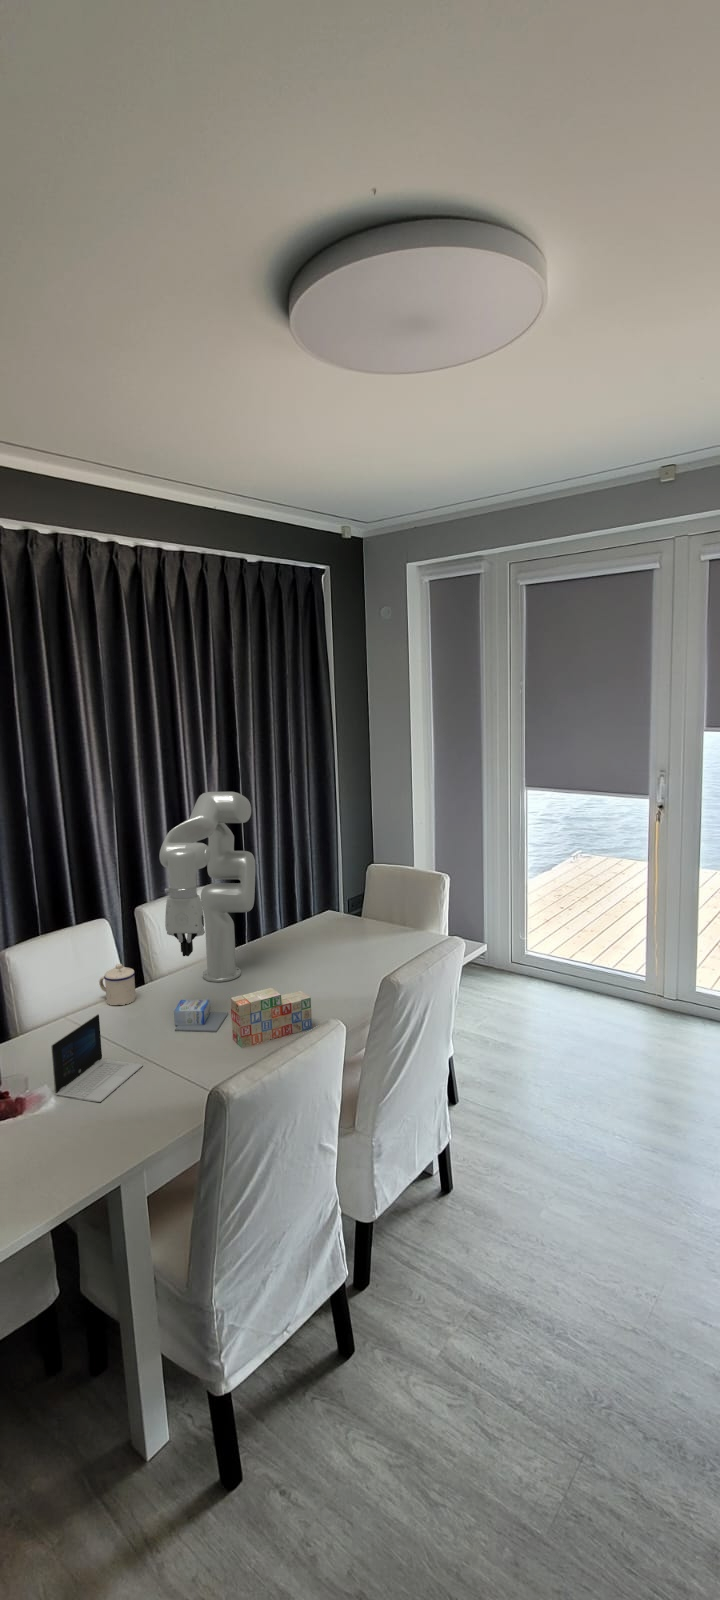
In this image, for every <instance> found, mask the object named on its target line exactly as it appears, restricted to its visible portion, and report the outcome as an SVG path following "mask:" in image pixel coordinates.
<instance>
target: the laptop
mask: <svg viewBox="0 0 720 1600" xmlns="http://www.w3.org/2000/svg"><path fill="white" fill-rule="evenodd" d="M100 1022H101V1021H100V1014H99V1013H97V1014H95V1015H94V1016H92V1017H90V1019H89V1020H87V1021H85V1022H83V1024H80V1025H79V1026H78V1027H76V1028H74V1029H73V1030H71V1031H70V1032H69V1033H68V1034H65V1035H64V1036H63V1037H61V1038H60V1039H59V1040H57V1041H56V1042H54V1043H52V1044H51V1047H50V1048H51V1058H52V1059H51V1060H52V1071H53V1084H54V1094H56V1095H55V1097H57V1096H58V1098H59V1097H60V1098H63V1099H64V1098H65V1099H72V1100H80V1101H89V1102H94V1103H95V1102H96V1103H101V1102H102V1101H103V1100H105V1099H106V1098H107V1097H108V1096H109V1095H110V1094H111V1093H112V1092H114V1091H115V1090H116V1089H118V1087H121V1085H122V1084H123V1083H125V1082H126V1081H127V1080H128V1079H129V1078H130V1077H131V1076H133V1075H134V1074H135V1073H136V1072H137V1071H138V1070H139V1069H141V1067H143V1066H144V1065H143V1063H136V1062H128V1061H121V1060H113V1059H107V1058H103V1054H102V1053H103V1052H102V1051H103V1050H102V1038H101V1025H100V1024H101V1023H100Z"/></svg>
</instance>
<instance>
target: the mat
mask: <svg viewBox="0 0 720 1600" xmlns="http://www.w3.org/2000/svg"><path fill="white" fill-rule="evenodd" d="M228 1015H229V1012H227V1011H222V1012H221V1011H210V1014H209V1016H208V1018H207V1020H206V1022H205V1024H204V1025H176V1027H175V1028H174V1032H192V1033H194V1032H196V1033H197V1032H198V1033H217V1032H218V1030H219V1029H220V1028H221V1026H222V1024H223V1023H224V1021H225V1019H226V1018H227V1016H228Z"/></svg>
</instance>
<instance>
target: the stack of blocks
mask: <svg viewBox="0 0 720 1600" xmlns="http://www.w3.org/2000/svg"><path fill="white" fill-rule="evenodd" d="M230 1005H231V1008H230V1016H231V1017H230V1018H231V1026H232V1040H233V1041H234V1042H235V1043H236V1044H237V1045H238V1046H239V1047H240V1048H241V1049H242V1048H247V1047H250V1046H255V1045H258V1044H257V1043H259V1044H262V1043H266V1042H268V1040H270V1039H272V1040H274V1039H273V1038H276V1039H279V1038H282V1037H286V1036H289V1034H290V1035H292V1033H293V1034H296V1033H300V1032H303V1031H307V1030H308V1031H309V1030H311V1029H312V1027H313V1026H312V1022H313V1021H312V999H311V996H309V995H308V994H307V993H305V992H303V991H302V990H298V991H294V992H289V993H285V994H281V993H280V992H278V991H277V990H276V989H274V988H273V987H269V988H265V989H260V990H258V991H254V992H253V991H252V992H250V993H245V994H240V995H236V996H233V997H230ZM285 1035H286V1036H285ZM278 1037H279V1038H278ZM265 1041H266V1042H265ZM270 1041H271V1040H270ZM261 1042H262V1043H261Z"/></svg>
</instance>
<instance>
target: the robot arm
mask: <svg viewBox="0 0 720 1600" xmlns="http://www.w3.org/2000/svg"><path fill="white" fill-rule="evenodd" d="M251 806H252V805H251V803H250V801H249V798H247V797H246V796H244V795H243V794H241V793H239V792H235V791H207V792H203V793H202V794H200V795H199V796H198V798H197V799H196V801H195V804H194V807H193V809H192V811H191V813H190V816H189V819H186V820H184V821H183V822H181V823H179V824H178V825H176V826H175V827H173V828H171V830H169V832H167V834H166V836H165V837H164V840H163V842H162V844H161V847H160V850H159V862H160V864H161V866H163V867H164V868H166V869H167V871H168V887H165V888H164V893H165V894H166V893H167V894H168V897H167V899H166V902H165V903H166V904H165V916H164V917H165V919H164V920H165V921H164V923H165V931H166V935H168V936H172V937H175V939H177V940H178V943H180V953H181V954H182V957H189V956H190V955H191V954H192V953H193V951H194V946H193V940H194V939H196V937H200V936H203V935H205V945H206V946H205V949H206V968H207V969H205V970H204V971H203V973H202V978H203V979H204V980H206V981H208V982H213V983H219V982H220V983H223V982H229V981H233V980H236V979H237V978H239V977H240V976H241V974H242V971H241V968H239V967H238V966H237V963H236V962H237V961H236V960H237V959H236V938H235V937H236V936H235V923H234V920H233V919H232V917H231V915H230V914H229V913H248V912H250V911H251V910H252V909H253V907H254V904H255V893H256V891H255V890H256V889H255V888H256V860H255V856H254V854H253V853H252V852H250V851H247V850H235V835H234V834H233V832H232V830H231V829H230V828H229V827H228V825H227V824H243V823H247V822H248V821H249V820H250V818H251V817H252V816H251V815H252V807H251ZM206 838H208V844H205V843H203V842H198V841H202V840H205V839H206ZM205 867H207V874H208V876H209V878H211V879H214V880H239V881H240V882H238V883H237V882H236V883H235V882H232V883H231V882H230V883H229V882H220V883H219V882H216V883H215V882H214V883H210V884H206V885H205V886H203V887H202V889H201V892H200V894H199V895H198V886H197V885H198V883H197V882H198V881H197V880H198V879H197V870H200V869H203V868H205Z"/></svg>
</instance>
